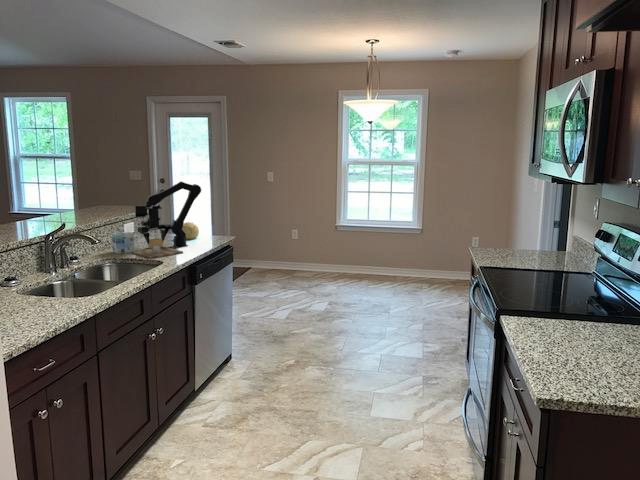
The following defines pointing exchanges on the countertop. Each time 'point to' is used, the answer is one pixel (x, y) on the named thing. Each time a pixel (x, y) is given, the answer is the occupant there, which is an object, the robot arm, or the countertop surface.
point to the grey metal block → (156, 249)
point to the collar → (155, 243)
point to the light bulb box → (123, 242)
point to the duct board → (164, 252)
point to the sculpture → (190, 230)
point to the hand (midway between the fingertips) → (155, 242)
